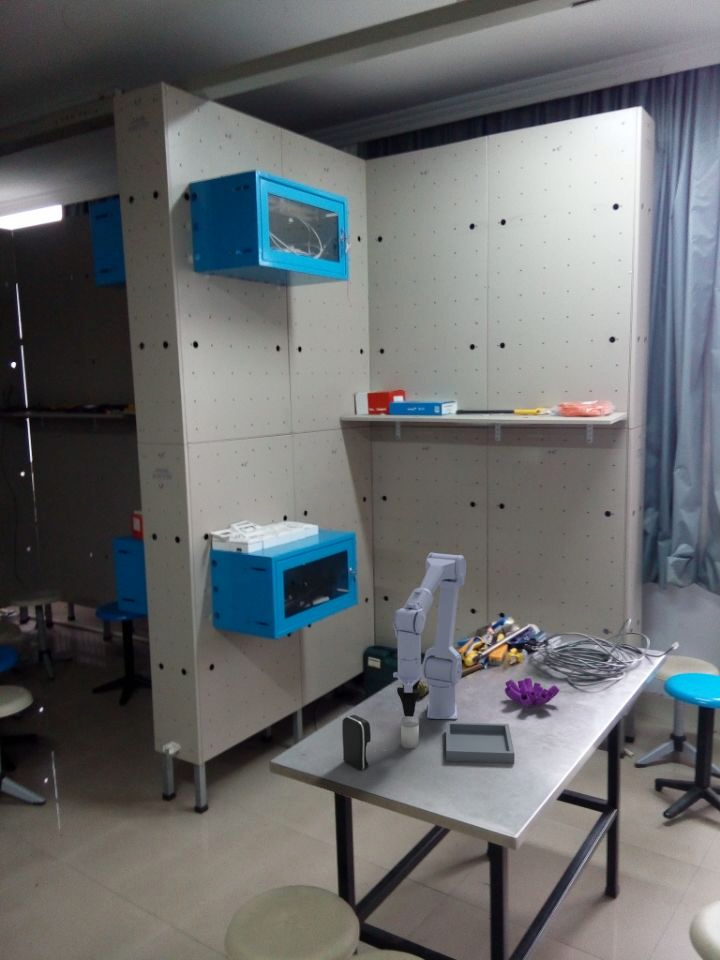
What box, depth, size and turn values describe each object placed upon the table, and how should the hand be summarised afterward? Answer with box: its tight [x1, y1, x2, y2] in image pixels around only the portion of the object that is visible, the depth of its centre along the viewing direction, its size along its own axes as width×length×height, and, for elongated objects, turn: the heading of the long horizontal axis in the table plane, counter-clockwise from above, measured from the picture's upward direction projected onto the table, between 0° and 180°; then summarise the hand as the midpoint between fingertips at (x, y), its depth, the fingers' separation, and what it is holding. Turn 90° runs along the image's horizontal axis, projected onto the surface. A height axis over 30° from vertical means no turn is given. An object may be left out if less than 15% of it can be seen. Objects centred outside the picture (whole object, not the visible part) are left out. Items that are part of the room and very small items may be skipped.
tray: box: [445, 721, 515, 764], centre depth 188 cm, size 16×16×2 cm
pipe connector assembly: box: [504, 677, 560, 708], centre depth 213 cm, size 11×15×10 cm
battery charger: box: [341, 714, 372, 771], centre depth 180 cm, size 7×4×11 cm, turn 41°
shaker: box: [400, 715, 420, 749], centre depth 190 cm, size 4×4×6 cm
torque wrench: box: [417, 663, 486, 699], centre depth 230 cm, size 5×35×5 cm
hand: (409, 709), depth 189 cm, fingers open, 7 cm apart
